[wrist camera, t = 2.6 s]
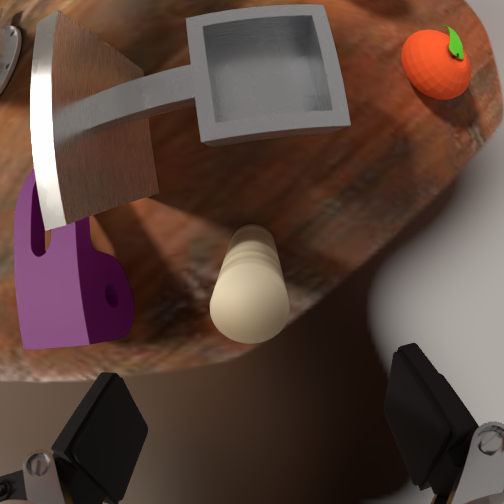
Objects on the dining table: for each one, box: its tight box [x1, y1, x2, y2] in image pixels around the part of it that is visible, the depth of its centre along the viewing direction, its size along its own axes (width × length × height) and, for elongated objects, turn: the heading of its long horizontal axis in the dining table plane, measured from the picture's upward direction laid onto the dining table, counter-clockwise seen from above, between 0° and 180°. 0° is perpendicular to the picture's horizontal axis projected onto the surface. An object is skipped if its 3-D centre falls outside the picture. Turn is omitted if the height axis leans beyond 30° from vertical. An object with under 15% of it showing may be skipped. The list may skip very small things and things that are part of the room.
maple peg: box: [210, 224, 290, 343], centre depth 20 cm, size 4×4×12 cm
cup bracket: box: [31, 4, 351, 231], centre depth 16 cm, size 12×15×14 cm
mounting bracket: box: [14, 168, 134, 350], centre depth 24 cm, size 9×8×18 cm
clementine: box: [401, 25, 471, 100], centre depth 17 cm, size 8×7×7 cm
